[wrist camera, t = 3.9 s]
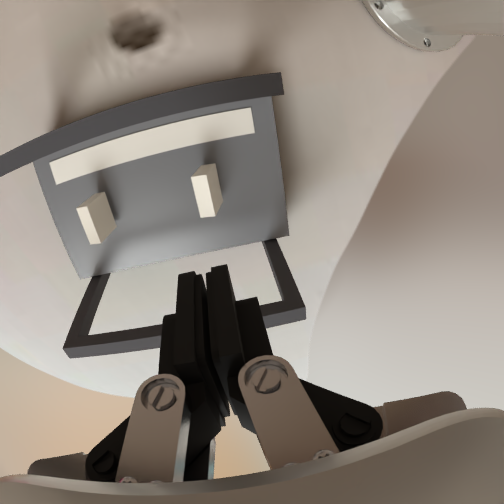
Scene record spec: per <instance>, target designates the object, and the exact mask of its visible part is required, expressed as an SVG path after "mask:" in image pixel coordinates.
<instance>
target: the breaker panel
mask: <svg viewBox="0 0 504 504" xmlns="http://www.w3.org/2000/svg"><path fill="white" fill-rule="evenodd" d="M214 163H215V164H216V169H217V174H218V179H219V184H220V189H221V194H222V198H223V202H222V204H221V206H220V208H219V210H218V212H217V214H216V216H214V217H204V218H201V217H200V213H199V209H198V205H197V201H196V197H195V193H194V189H193V184H192V180H191V176H192V175H193V174H194V173H195V172H196V171H197V169H198V168H199V167H200V166H201V165H207V164H214ZM33 164H34V167H35V170H36V173H37V176H38V179H39V182H40V185H41V188H42V191H43V194H44V197H45V199H46V202H47V205H48V207H49V210H50V212H51V215H52V218H53V220H54V223H55V225H56V227H57V230H58V232H59V235H60V237H61V239H62V242H63V244H64V246H65V248H66V251H67V253H68V255H69V257H70V259H71V261H72V264H73V266H74V268H75V270H76V272H77V274H78V276H79V278H80V279H84V278H89V277H93V276H98V275H102V274H107V273H112V272H116V271H121V270H126V269H130V268H135V267H140V266H145V265H149V264H154V263H159V262H164V261H168V260H173V259H178V258H183V257H187V256H192V255H197V254H202V253H207V252H211V251H216V250H221V249H226V248H231V247H236V246H241V245H245V244H250V243H255V242H260V241H265V240H270V239H275V238H280V237H285V236H289V228H288V219H287V210H286V202H285V193H284V185H283V177H282V169H281V161H280V154H279V146H278V139H277V131H276V124H275V117H274V110H273V104H272V97H271V96H269V97H261V98H255V99H248V100H242V101H236V102H230V103H225V104H219V105H214V106H209V107H204V108H199V109H195V110H190V111H186V112H181V113H177V114H173V115H169V116H165V117H161V118H157V119H154V120H150V121H146V122H143V123H139V124H136V125H132V126H129V127H125V128H122V129H119V130H116V131H113V132H110V133H106V134H103V135H100V136H98V137H95V138H92V139H89V140H86V141H83V142H81V143H78V144H75V145H72V146H70V147H67V148H65V149H62V150H59V151H57V152H54V153H52V154H50V155H47V156H45V157H42V158H40V159H38V160H35V161H33ZM101 192H105V194H106V197H107V200H108V203H109V206H110V209H111V212H112V214H113V217H114V220H115V223H116V226H117V227H116V228H115V229H114V230H113V231H112V232H111V233H110V234H109V235H108V236H107V237H106V239H105V240H104V241H103V242H102V243H100V244H91V245H90V242H89V240H88V238H87V235H86V233H85V230H84V228H83V225H82V222H81V220H80V217H79V215H78V212H77V209H76V208H77V207H79V206H80V205H81V204H82V203H83V202H85V201H86V200H87V199H89V198H90V197H91V196H92V195H94V194H96V193H101Z"/></svg>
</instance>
